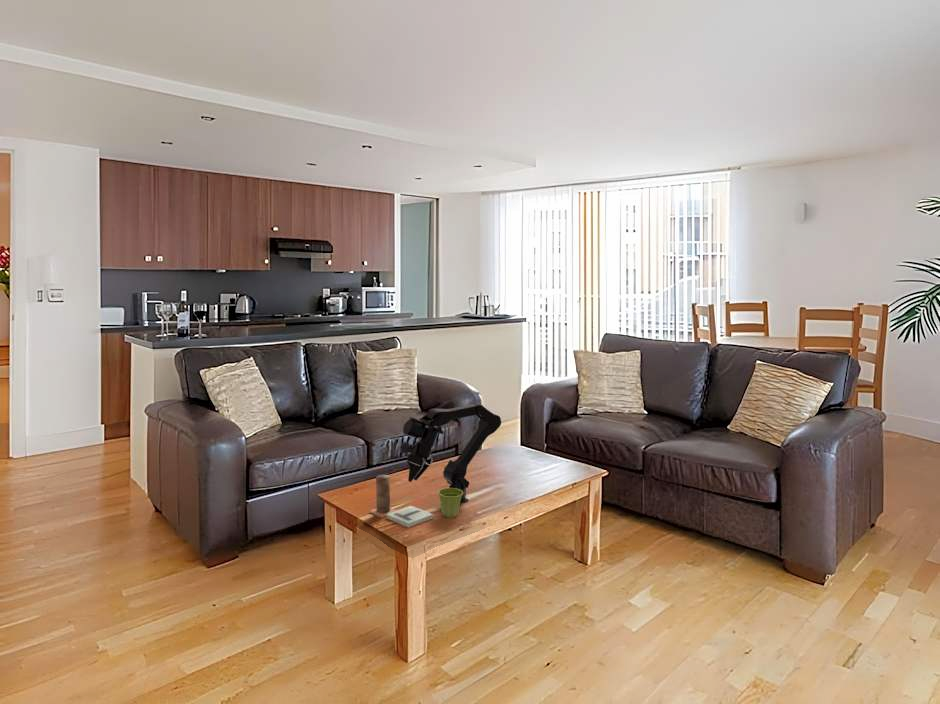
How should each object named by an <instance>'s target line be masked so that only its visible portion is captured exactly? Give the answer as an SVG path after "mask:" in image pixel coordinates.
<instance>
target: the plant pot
mask: <svg viewBox="0 0 940 704" xmlns="http://www.w3.org/2000/svg"><path fill="white" fill-rule="evenodd" d="M437 493H438V494H437V495H438V496H439V500H440V507H441V508H440V509H441V515H442V516H444V517H445V518H454V517H457V516H459V511H460V506H461V503H460V501H461V498H462V495H463V491H462V490H460V489H457V488H449V487H444V488H441V489H439V490H438V491H437Z"/></svg>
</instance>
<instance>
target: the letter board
mask: <svg viewBox="0 0 940 704" xmlns="http://www.w3.org/2000/svg"><path fill="white" fill-rule="evenodd" d="M433 518H434V514H433V513H430V512H428V511H426V510H424V509H421V508H418V507H416V506H413V505H409V506H406V507H403V508H400V509H397V510H396V511H394V512H391V513H388V514H387V516H386V519H388V520H390V521H392V522H395V523H397V524H399V525H401V526H404V527H407V528H410V527H413V526H416V525H418V524H422V523H424V522H426V521H430V520H432V519H433Z"/></svg>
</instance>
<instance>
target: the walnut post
mask: <svg viewBox="0 0 940 704" xmlns="http://www.w3.org/2000/svg"><path fill="white" fill-rule="evenodd" d="M390 478H391V476H390V475H388V474H378V475H376V477H375V484H376V485H375V486H376V488H375V489H376V497H375V498H376V499H375V500H376V503H375V504H376V506H375V507H376V508H377V512H379V513H387V512H389V511H390V508H391V479H390Z"/></svg>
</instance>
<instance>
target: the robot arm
mask: <svg viewBox="0 0 940 704" xmlns="http://www.w3.org/2000/svg"><path fill="white" fill-rule="evenodd" d="M472 416H473V417H474V416H476V417H477V418H478V419H479V420H478V424H477V430H476V431H475V433H474V434H473V436H472V437H471V438H470V440H469V441H468V443H467V444H466V446H465V447H464V449H463V450H462V451H461V453H460V454H459V455H458V457H457V458H456V459H455V460H451V459H449V461H448V462H447V464H446V466H445V467H443V473H442V474H443V475H442V476H443V479H444V480H446V483H447V484H449V486H448V488H457V489H460V490H462V491H463V495H462V498H461V501H460V504H463V503H466V502H468V501H469V500H470V499H469V498H467V496H466V495H467V494H466V493H467V492H466V491H467V489H468V488H469V486H470V482H469V480H467V478H466V475H467V470H468V466H469V465H470V463H471V461H472V460H473V459H474V457H475V456H476V454H477V453H478V452H479V450H480V448H481V447H482V445H484V442H485V441H486V439H488V437H489V436H491V435H492V434H494V433H495V432H497V430H498V429H499V428H500V427H501V425H502V419H501V416H500V415H498V414H495V413H493V412H492V411H490V410H488V408H486V407H485V406H484V405H483V404H481V403H478V402H474V403H471V404H467V405H466V404H465V405H462V406H456V407H451V408H430V409H428V410H427V413H426V414H424V415H423V416H422V417H420V418H419V419H417V418H414V417H412V416H410V417H409V419H408V420H407V421H406V422H405V423H404V425H403V429H402V432H403V434H404V435H406V436H408V437H412V438H415V439H419V440H418V441H416V443H415V444H411V443H410V442H409V441H408V442H407V441H404V442H403V444H401V446H400V452H401V454H407V453H409V454H408V455H407V457H406V463H407V464H408V466H409V469H408V478H407V479H408V480H407V481H408V482H410V483H412V481H413V480H414V481H418V479H420V477H421V476H422V475H423V474H424V473H425V472H426V471H427V470H428V468H429V467H431V465H433V462H434V459H433V457H432V456H431V454H432V450H434V449H435V443H436V439H437V438H438V435H439V434H441V435H444V431H443V428H442V426H445V425H447V424H449V423H450V422H451V421H454V420H459V419H463V418H467V417H472Z"/></svg>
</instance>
